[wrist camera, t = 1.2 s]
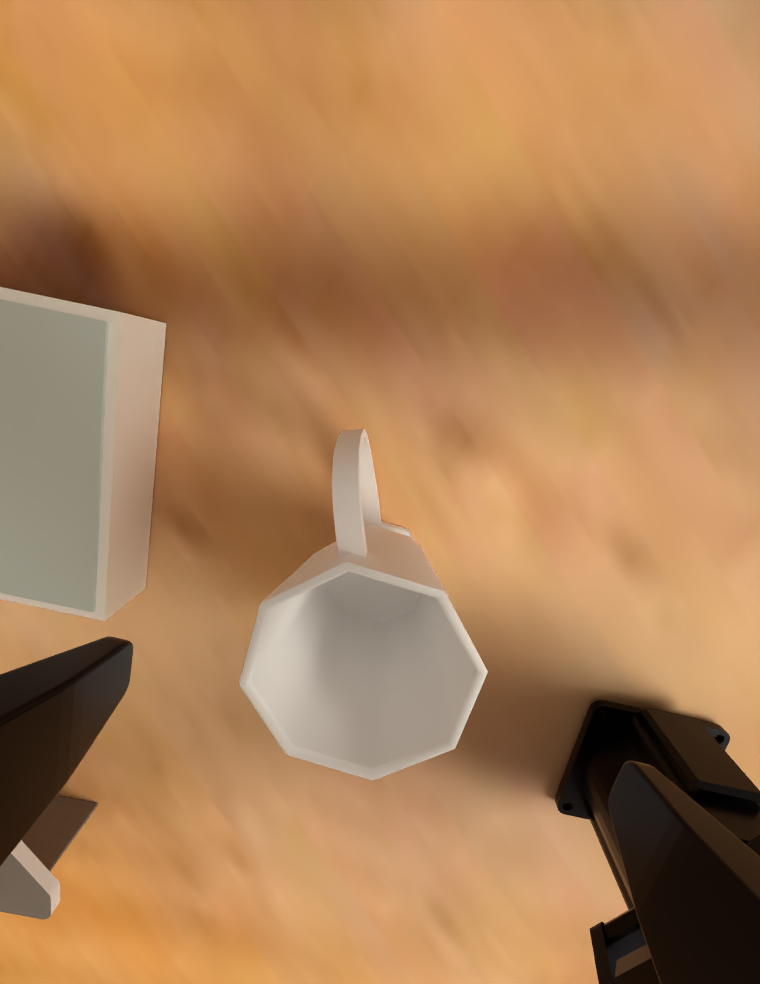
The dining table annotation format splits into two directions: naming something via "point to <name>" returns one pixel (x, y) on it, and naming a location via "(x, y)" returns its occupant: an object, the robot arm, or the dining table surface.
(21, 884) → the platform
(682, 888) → the robot arm
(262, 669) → the cup
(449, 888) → the dining table surface
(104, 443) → the slab
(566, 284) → the dining table surface
